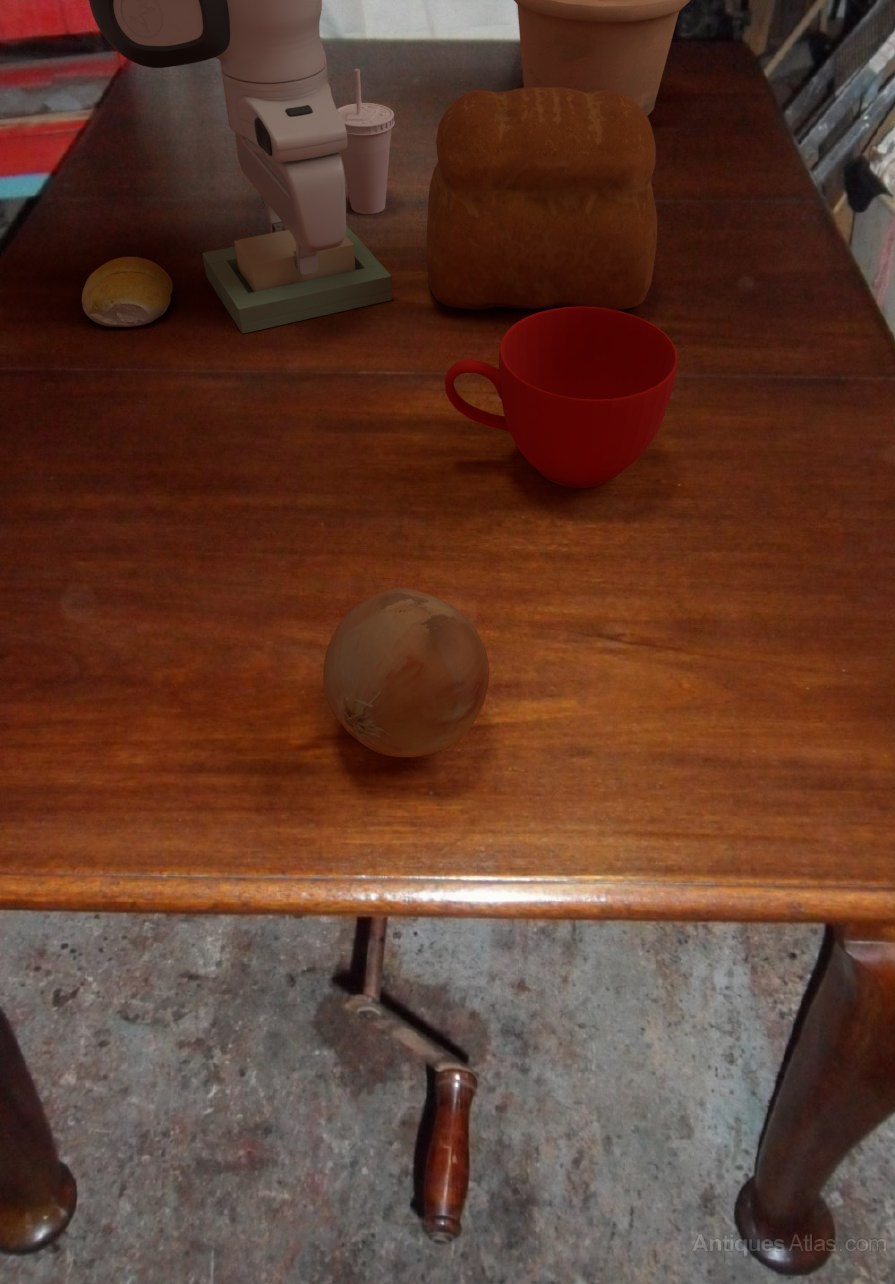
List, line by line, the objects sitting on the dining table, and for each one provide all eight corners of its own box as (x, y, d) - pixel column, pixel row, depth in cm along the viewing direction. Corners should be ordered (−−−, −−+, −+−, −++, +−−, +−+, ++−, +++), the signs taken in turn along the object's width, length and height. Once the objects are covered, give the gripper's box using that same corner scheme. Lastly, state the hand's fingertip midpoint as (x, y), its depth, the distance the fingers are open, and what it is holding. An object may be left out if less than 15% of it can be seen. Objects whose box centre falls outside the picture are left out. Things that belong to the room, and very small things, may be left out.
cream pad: (256, 296, 99) (251, 265, 97) (238, 270, 103) (234, 240, 101) (355, 274, 102) (353, 244, 100) (335, 250, 106) (333, 220, 104)
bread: (428, 238, 111) (426, 63, 99) (633, 238, 111) (656, 63, 99) (426, 324, 99) (423, 137, 87) (656, 324, 99) (685, 137, 87)
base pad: (242, 334, 98) (238, 309, 96) (206, 276, 105) (202, 252, 103) (392, 300, 102) (391, 276, 100) (347, 247, 110) (346, 223, 108)
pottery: (560, 63, 147) (568, -57, 137) (704, 97, 139) (724, -29, 128) (470, 111, 135) (472, -17, 125) (622, 152, 126) (637, 17, 116)
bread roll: (176, 280, 105) (168, 241, 102) (170, 327, 99) (162, 287, 96) (90, 285, 104) (80, 246, 101) (79, 332, 98) (68, 292, 95)
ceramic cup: (447, 413, 89) (447, 303, 82) (650, 417, 89) (668, 307, 81) (442, 512, 80) (441, 398, 73) (667, 516, 80) (689, 402, 72)
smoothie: (326, 207, 116) (315, 68, 106) (369, 189, 119) (361, 52, 109) (367, 225, 113) (360, 84, 103) (409, 206, 116) (406, 67, 106)
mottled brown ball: (301, 764, 64) (283, 649, 56) (368, 651, 70) (360, 535, 63) (453, 812, 61) (453, 698, 54) (508, 690, 68) (515, 575, 60)
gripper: (208, 68, 97) (231, 217, 107) (280, 150, 84) (298, 311, 94) (274, 58, 99) (290, 206, 109) (355, 137, 86) (364, 296, 96)
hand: (294, 255), depth 101 cm, fingers closed on cream pad, 5 cm apart
